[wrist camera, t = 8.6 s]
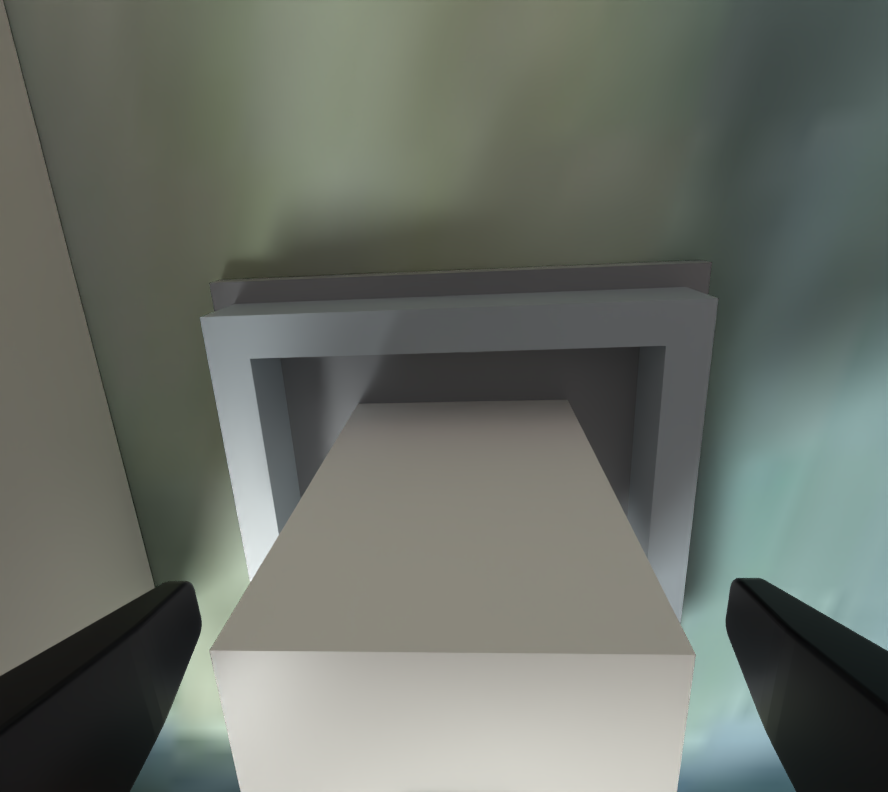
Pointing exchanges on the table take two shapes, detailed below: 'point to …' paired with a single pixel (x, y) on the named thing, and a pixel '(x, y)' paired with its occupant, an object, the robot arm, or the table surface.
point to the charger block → (456, 618)
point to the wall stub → (51, 417)
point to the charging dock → (470, 375)
